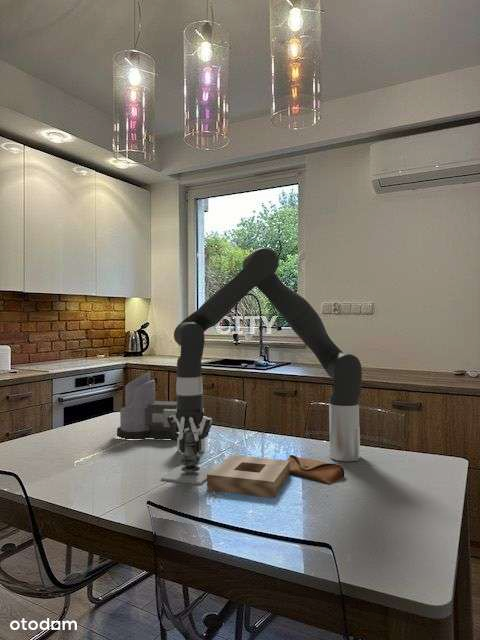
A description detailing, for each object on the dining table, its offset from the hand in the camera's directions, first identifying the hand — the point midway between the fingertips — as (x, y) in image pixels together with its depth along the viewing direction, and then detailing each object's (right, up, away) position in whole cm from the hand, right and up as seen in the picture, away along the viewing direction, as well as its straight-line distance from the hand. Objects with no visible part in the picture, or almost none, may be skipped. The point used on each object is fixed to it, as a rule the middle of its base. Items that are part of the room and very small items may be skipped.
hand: (190, 452), depth 131 cm
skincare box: (-2, -7, +24) cm, 25 cm away
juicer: (-20, -7, +46) cm, 50 cm away
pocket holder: (+17, -6, -6) cm, 19 cm away
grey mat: (0, -6, 0) cm, 6 cm away
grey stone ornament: (0, -5, 0) cm, 5 cm away
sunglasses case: (+34, -7, 0) cm, 35 cm away
